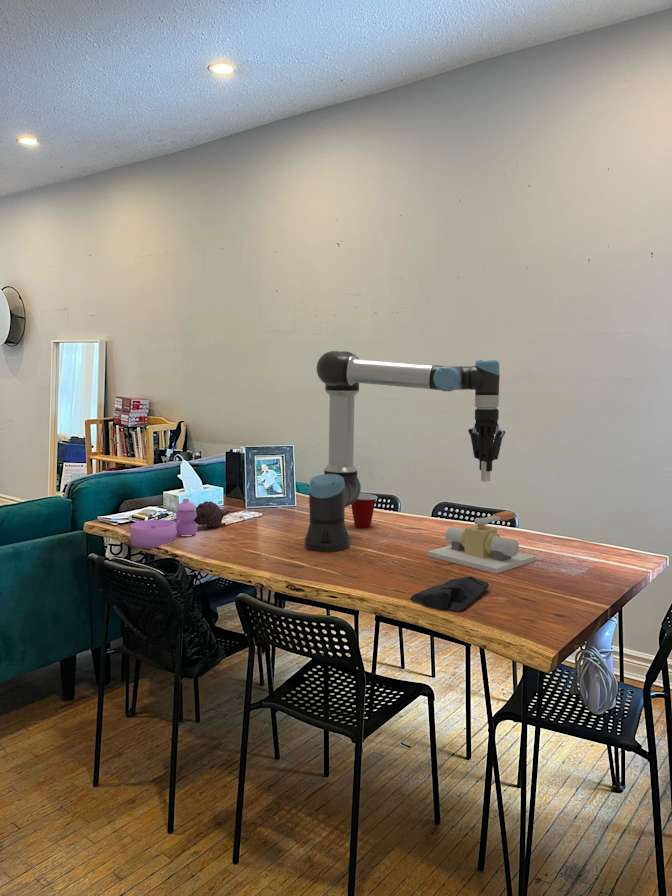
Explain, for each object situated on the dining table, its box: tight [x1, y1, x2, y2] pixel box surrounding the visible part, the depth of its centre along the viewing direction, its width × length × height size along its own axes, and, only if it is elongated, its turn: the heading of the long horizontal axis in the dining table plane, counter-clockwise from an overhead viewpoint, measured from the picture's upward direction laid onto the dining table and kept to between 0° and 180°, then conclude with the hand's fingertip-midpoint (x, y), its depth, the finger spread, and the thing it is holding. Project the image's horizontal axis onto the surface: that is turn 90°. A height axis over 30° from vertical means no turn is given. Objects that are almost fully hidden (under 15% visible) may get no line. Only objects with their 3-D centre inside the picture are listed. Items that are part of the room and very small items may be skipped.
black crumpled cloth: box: [409, 575, 489, 613], centre depth 180 cm, size 15×22×5 cm
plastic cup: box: [350, 492, 379, 529], centre depth 261 cm, size 11×11×12 cm
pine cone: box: [193, 500, 230, 528], centre depth 260 cm, size 18×10×10 cm, turn 136°
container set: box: [129, 498, 198, 549], centre depth 243 cm, size 25×15×13 cm, turn 137°
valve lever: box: [474, 510, 516, 526], centre depth 219 cm, size 18×4×2 cm, turn 131°
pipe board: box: [427, 525, 536, 574], centre depth 216 cm, size 20×26×11 cm
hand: (485, 480), depth 226 cm, fingers closed
